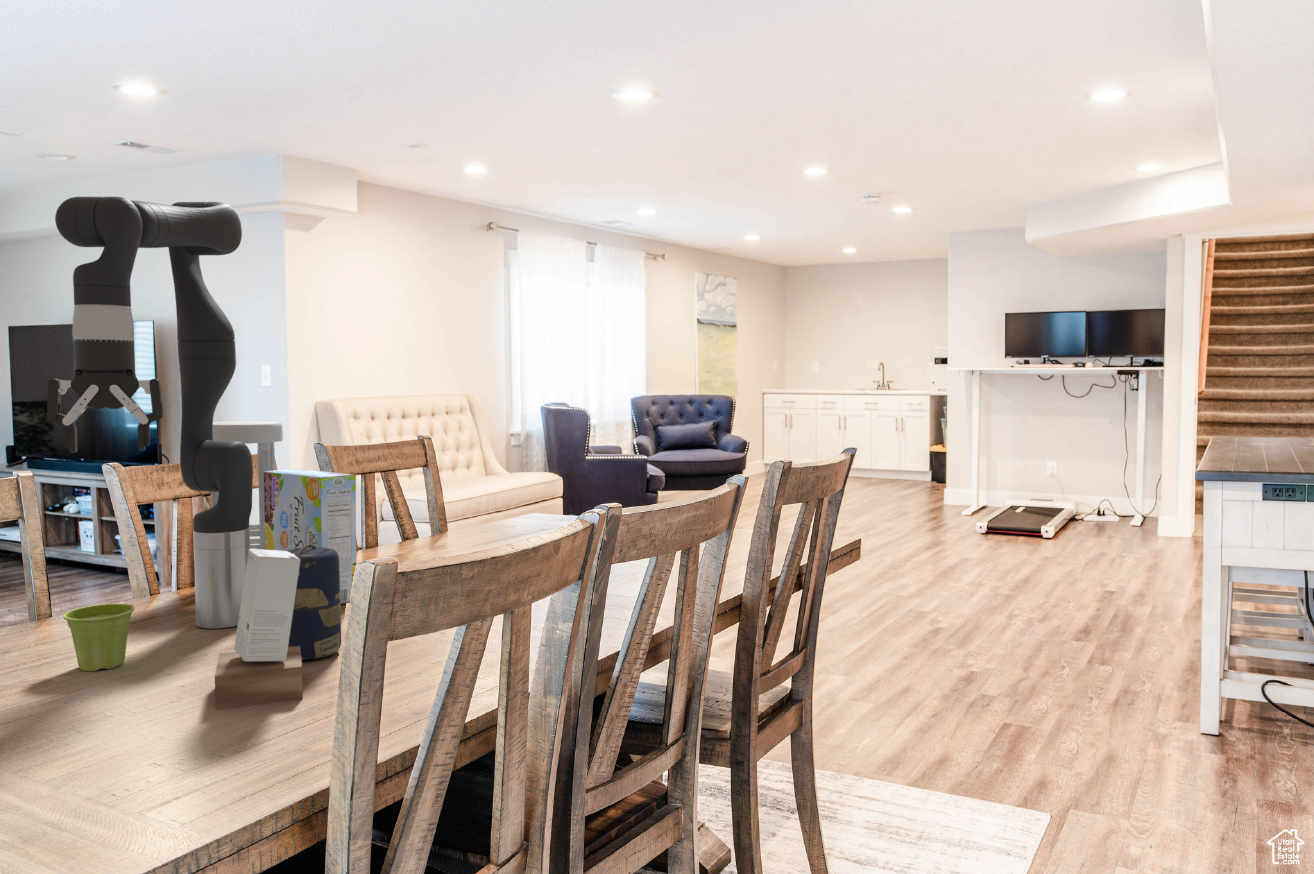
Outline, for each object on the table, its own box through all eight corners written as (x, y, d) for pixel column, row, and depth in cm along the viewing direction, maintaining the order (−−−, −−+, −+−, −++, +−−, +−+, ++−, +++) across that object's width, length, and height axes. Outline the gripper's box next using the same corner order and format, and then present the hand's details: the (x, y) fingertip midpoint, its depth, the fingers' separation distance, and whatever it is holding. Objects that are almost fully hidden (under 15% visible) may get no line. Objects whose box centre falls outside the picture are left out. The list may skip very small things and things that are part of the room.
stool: (281, 590, 195) (278, 424, 193) (200, 595, 190) (196, 424, 188) (288, 575, 210) (284, 420, 207) (213, 579, 205) (208, 421, 203)
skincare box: (233, 651, 134) (244, 547, 135) (277, 650, 137) (288, 549, 138) (244, 663, 127) (256, 554, 128) (290, 661, 130) (301, 555, 131)
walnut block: (220, 687, 136) (219, 653, 135) (300, 678, 140) (300, 645, 139) (215, 712, 125) (214, 676, 125) (302, 701, 130) (301, 666, 129)
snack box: (361, 601, 185) (358, 473, 184) (321, 610, 178) (319, 477, 177) (301, 586, 199) (298, 466, 197) (262, 593, 192) (259, 470, 190)
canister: (354, 649, 153) (352, 541, 152) (315, 666, 144) (312, 551, 143) (306, 644, 156) (304, 538, 155) (265, 660, 147) (262, 547, 146)
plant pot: (103, 677, 138) (101, 620, 138) (50, 673, 140) (48, 616, 140) (150, 658, 148) (148, 605, 147) (99, 654, 150) (97, 601, 149)
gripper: (162, 340, 139) (165, 447, 140) (50, 338, 133) (54, 450, 134) (158, 338, 132) (161, 451, 133) (40, 336, 127) (44, 454, 128)
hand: (108, 450), depth 134 cm, fingers open, 8 cm apart
